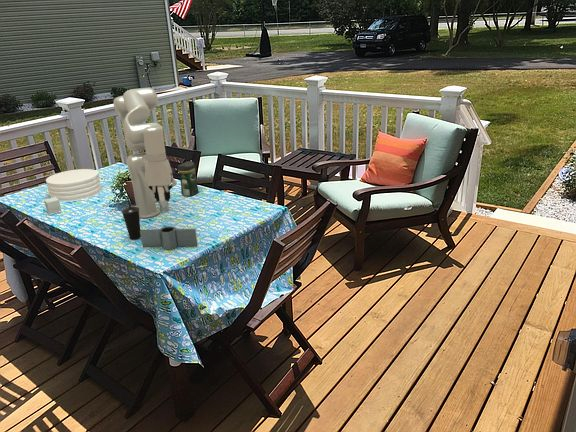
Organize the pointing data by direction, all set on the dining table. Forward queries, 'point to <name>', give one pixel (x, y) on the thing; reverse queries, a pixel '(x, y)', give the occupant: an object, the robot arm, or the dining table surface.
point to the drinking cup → (132, 221)
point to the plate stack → (74, 184)
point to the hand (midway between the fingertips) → (163, 200)
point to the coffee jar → (188, 178)
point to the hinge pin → (162, 199)
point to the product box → (52, 205)
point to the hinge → (169, 238)
